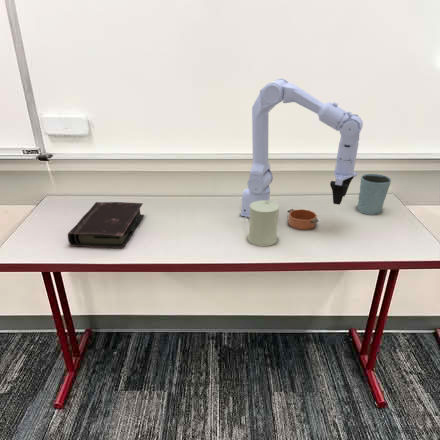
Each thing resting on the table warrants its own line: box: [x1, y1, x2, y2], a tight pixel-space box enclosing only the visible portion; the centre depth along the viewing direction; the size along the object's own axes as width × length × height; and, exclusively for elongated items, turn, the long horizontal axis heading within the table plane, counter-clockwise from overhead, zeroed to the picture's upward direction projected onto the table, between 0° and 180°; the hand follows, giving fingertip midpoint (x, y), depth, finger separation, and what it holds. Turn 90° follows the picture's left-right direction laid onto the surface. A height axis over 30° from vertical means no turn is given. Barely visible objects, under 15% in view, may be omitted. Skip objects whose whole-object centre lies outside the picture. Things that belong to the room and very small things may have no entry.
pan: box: [287, 208, 320, 231], centre depth 145 cm, size 9×12×4 cm
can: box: [247, 200, 280, 247], centre depth 133 cm, size 9×9×12 cm
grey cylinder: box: [356, 173, 392, 216], centre depth 153 cm, size 10×10×12 cm
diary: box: [67, 201, 145, 249], centre depth 141 cm, size 19×25×5 cm
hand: (339, 199), depth 138 cm, fingers open, 7 cm apart
